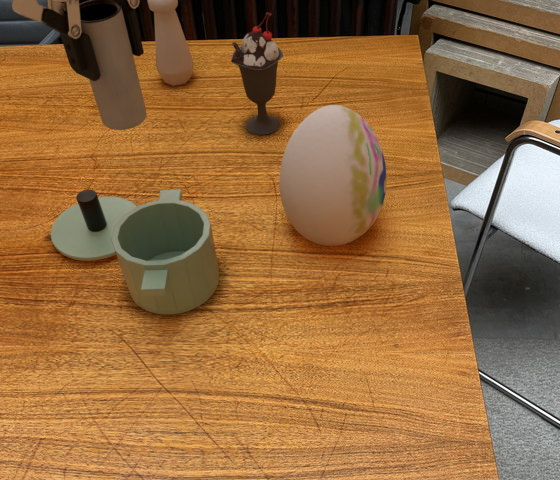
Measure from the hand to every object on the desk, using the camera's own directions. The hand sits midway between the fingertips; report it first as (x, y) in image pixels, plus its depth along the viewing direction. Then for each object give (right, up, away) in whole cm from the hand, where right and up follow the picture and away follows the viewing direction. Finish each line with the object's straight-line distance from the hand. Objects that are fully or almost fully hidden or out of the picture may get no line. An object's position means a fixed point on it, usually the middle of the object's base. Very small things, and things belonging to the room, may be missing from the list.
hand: (109, 61), depth 59 cm
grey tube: (0, -4, +5) cm, 6 cm away
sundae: (+14, +6, +32) cm, 36 cm away
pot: (+4, -19, +14) cm, 24 cm away
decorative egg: (+22, -11, +19) cm, 31 cm away
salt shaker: (0, +17, +41) cm, 45 cm away
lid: (-7, -11, +19) cm, 23 cm away
